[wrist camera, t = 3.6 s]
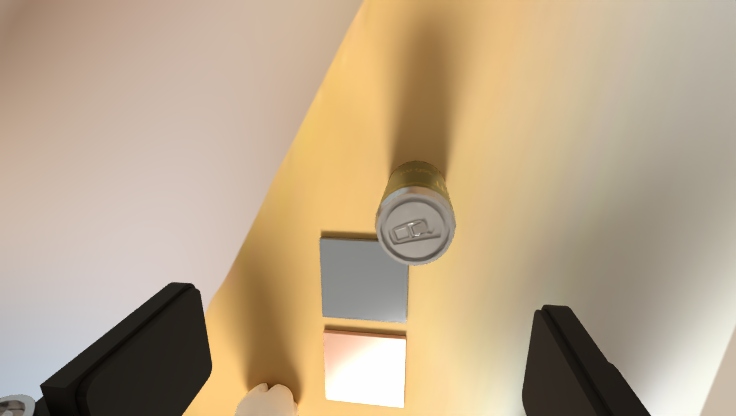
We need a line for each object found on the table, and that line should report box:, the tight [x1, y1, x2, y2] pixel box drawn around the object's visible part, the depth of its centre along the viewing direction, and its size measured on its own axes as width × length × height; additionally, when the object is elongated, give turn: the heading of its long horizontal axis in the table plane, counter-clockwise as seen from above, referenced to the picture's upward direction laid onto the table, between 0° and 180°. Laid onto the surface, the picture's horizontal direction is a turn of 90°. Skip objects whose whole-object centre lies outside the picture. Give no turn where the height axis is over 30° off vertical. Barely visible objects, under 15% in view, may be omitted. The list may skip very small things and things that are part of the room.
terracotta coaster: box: [323, 330, 406, 407], centre depth 41 cm, size 9×9×1 cm
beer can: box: [375, 161, 456, 266], centre depth 29 cm, size 5×5×12 cm
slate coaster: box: [320, 237, 408, 323], centre depth 38 cm, size 9×9×1 cm
